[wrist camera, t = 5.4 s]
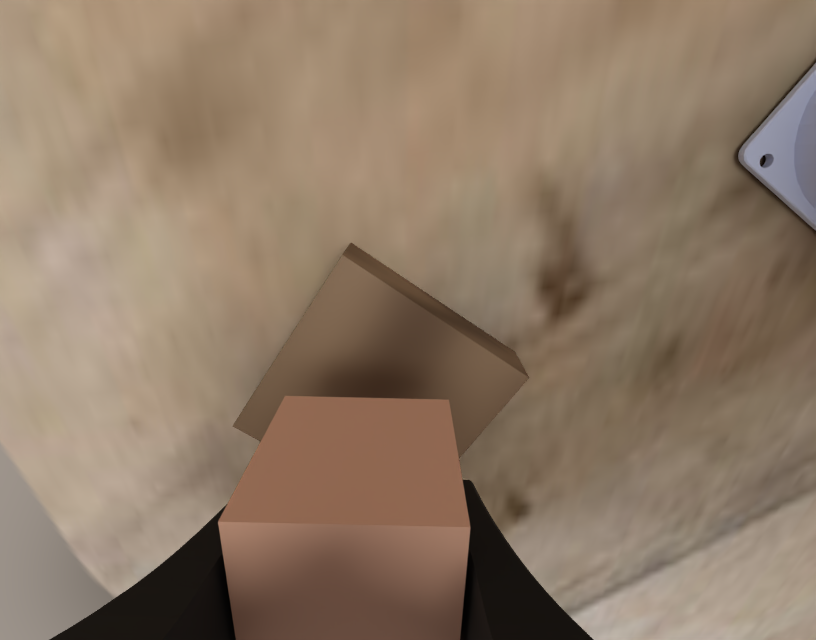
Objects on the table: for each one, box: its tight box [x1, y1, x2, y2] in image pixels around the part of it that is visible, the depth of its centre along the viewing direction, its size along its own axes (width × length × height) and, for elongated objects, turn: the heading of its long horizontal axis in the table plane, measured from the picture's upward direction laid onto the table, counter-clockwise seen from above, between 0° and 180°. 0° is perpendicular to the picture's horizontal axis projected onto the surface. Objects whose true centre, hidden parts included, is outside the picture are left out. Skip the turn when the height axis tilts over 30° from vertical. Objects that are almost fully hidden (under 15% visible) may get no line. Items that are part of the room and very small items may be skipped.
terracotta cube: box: [218, 396, 470, 640], centre depth 12 cm, size 5×5×5 cm
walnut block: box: [233, 243, 529, 458], centre depth 20 cm, size 9×9×3 cm
